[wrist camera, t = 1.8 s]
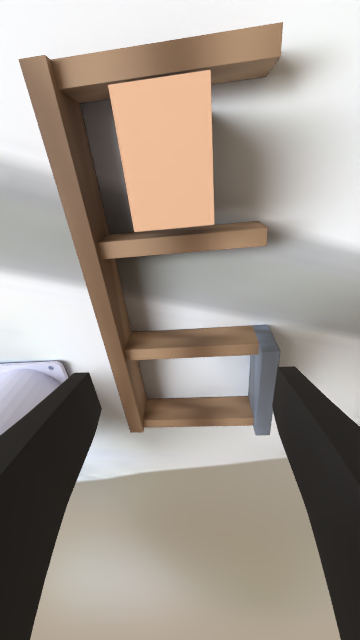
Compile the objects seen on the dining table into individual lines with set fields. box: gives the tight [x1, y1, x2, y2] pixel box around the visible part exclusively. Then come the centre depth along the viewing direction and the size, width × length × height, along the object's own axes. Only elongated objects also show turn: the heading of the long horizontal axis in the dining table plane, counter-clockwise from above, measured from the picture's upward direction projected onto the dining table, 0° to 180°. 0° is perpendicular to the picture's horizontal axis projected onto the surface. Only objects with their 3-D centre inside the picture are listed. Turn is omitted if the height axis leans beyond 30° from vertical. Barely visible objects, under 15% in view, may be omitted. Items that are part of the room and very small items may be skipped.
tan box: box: [108, 70, 214, 232], centre depth 12 cm, size 4×5×6 cm
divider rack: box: [19, 22, 283, 435], centre depth 17 cm, size 12×25×4 cm, turn 5°
